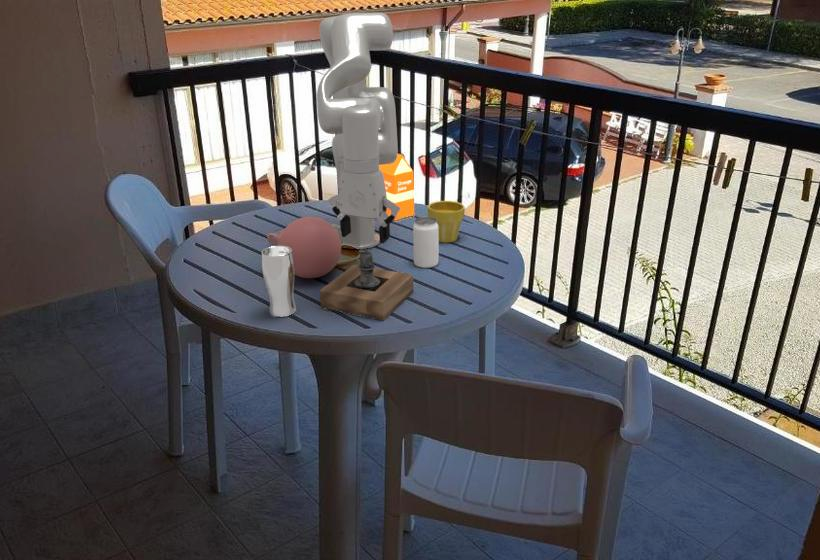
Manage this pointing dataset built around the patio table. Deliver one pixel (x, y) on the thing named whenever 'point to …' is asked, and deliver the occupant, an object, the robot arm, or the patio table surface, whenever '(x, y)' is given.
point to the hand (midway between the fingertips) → (365, 238)
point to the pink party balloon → (310, 245)
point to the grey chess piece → (367, 273)
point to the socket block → (367, 293)
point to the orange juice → (399, 186)
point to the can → (426, 242)
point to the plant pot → (447, 218)
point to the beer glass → (279, 279)
